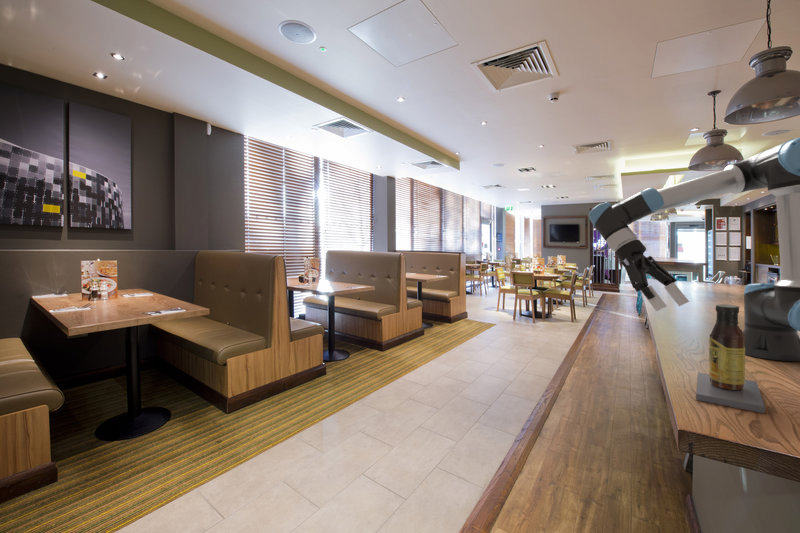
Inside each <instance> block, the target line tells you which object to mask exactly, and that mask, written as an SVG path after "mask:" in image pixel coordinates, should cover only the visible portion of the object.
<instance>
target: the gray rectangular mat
mask: <svg viewBox="0 0 800 533" xmlns="http://www.w3.org/2000/svg"><path fill="white" fill-rule="evenodd" d="M757 383H758V382H757V381H756V380H750V379H749V380H748V379H745V383H744V388H743V389H742V390H728V389H723V388H718V387H716V386H714V385H713V384H711V383H710V377H709V373H705V372H699V371H698V372H697V379H696V391H695V398H696V399H695V400H696V401H699V402H704V403H709V404H714V403H716V404H715V405H719V406H726V407H731V408H735V409H741V410H745V411H750V412H756V413H762V414H766V406H765V403H764V400H763V396H762V393H761V392H760V388H759V385H758V384H757Z"/></svg>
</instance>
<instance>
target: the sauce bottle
mask: <svg viewBox="0 0 800 533" xmlns="http://www.w3.org/2000/svg"><path fill="white" fill-rule="evenodd" d="M715 311H716V320H715V324H714V326H713V328H712V330H711V333H710V334H709V349H708V350H709V353H708V354H709V355H708V356H709V358H708V360H709V361H708V362H709V364H708V367H709V369H708V370H709V371H708V372H709V373H708V374H709V377H710V383H711V384H713V385H714V386H716V387H718V388H723V389H728V390H742V389H743V388H744V383H745V380H746V378H745V377H746V354H745V344H744V341H745V336H744V333H743V330H742V329H741V328H740V326H739V321H738V320H739V312H740V307H739V306H738V305H734V304H716V305H715Z"/></svg>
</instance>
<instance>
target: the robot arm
mask: <svg viewBox="0 0 800 533" xmlns="http://www.w3.org/2000/svg"><path fill="white" fill-rule="evenodd" d="M760 189H767V192H768V193H770V194H771V195H773V196H775V199H776V202H775V203H776V218H777V232H778V248H779V251H778V252H779V263H780V264H779V265H780V266H779V267H780V279H779V280H778V281H776V282H768V283H767V282H766V283H765V282H764V283H748V284H746V285H745V286H744V292H743V301H744V304H743V306H744V308H743V310H744V311H743V314H744V315H743V316H744V317H743V318H744V319H743V321H744V323H743V324H744V326H743V327H744V328H743V330H742V332H743V333H744V336H745V341H744V344H745V356H746V355H747V356H750V357H754V358H760V359H764V360H772V361H780V362H781V361H783V362H800V335H799V334H798V333H799V332H800V136H799V137H796V138H791V139H789V140H787V141H785V142H783V143H780V144H777V145H775V146H773V147H769V148H768V149H765V150H763V151H761V152H758V153H757V154H756V153H755V155H752V156H750V157H748V158H746V159H743V160H740V161H739V162H735V163H732V164H729V165H727V166H725V167H724V169H723V170H719V171H716V172H712V173H710V174H706V175H703V176H699V177H697V178H693V179H690V180H686V181H683V182H680V183H676V184H673V185H670V186H667V187H663V188H660V189H656V188H654V187H647V188H645V189H643V190H641V191H639V192H637V193H636V194H633V195H632V196H630V197H627V198H626V199H625V198H624V199H623V200H620V201H617V202H616V203H614V204H613V205H612V204H611V203H610V202H608V201H607V202H606V201H605V202H602V203H599V204H597V205H596V206H594V207H592V209H591V210H590V211H589V213H588V219H589V221H590V222H591V224H592V226H593V228H595V229H596V230H597V232H598V233H599V234H600V236H601V237H602V238H603V239H604V241H605V242H606V243H607V245H608V248H609V249H611V250H612V251H613V252H615V253H614V254H615V256H616V257H617V259H619V261H620V263H621V264H622V266H623V267H624V269H625V272H626V274H627V276H628V279H629V282H630V284H631V286H632V288H633V289H634V290H635V292H637V293H638V292H640V291H641V293H642V294H643V296H644V297H645V299H646V300H647V301H648V302H649V304H650V305H651V306H652V308H653V309H654V310H655V312H659V311H660V310H661V309H665V308H666V307H667V304H666V303H665V301H663V299H662V298H661V297H660V295H659V294H658V292H657V291H656V290H655V288H653V286H652V285H649V283H648V278H647V275H650V277H652V278H653V279H655V280H656V281H658V282H659V283H660V284H662V285H663V287H664V289H665V290H666V291H667V293H668V294H669V295H670V297H671V298H672V299H673V301H674V302H675V303H676V304H677V306H678V307H681V306H683V305H685V304H687V303H689V302H690V300H689V299H688V298H687V297H686V295H685V294H684V293H683V291H682V290H681V289H680V288H679V287H678V286H677V285H676V283H675V282H677V281H678V280H677V279H676V278H675V277H674V276H673V275H672V274H671V273H669V271H668V270H666V269H665V268H664V267H663V266H662V265H661V264H659V263H658V262H657V261H656V260H655V259H654V257H653V256H652V255H649V256H647V257H646V255H644V253H645V252H646V250H647V247H646V246H645V245H644V243H643V242H642V241H641V240H640V239H638V236H637V234H636V233H635V232H634V231H633V229H631V228H630V227H629V225H631V224H633V223H634V222H637V221H639V220H641V219H643V218H646V217H647V216H651V215H654V214H659V213H662V212H665V211H668V210H672V209H675V208H680V207H684V206H686V205H691V204H694V203H697V202H702V201H704V200H705V201H706V200H708V199H712V198H715V197H719V196H722V195H725V194H729V193H732V194H734V195H736V194H742V193H744V192H749V191H754V190H760Z"/></svg>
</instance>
